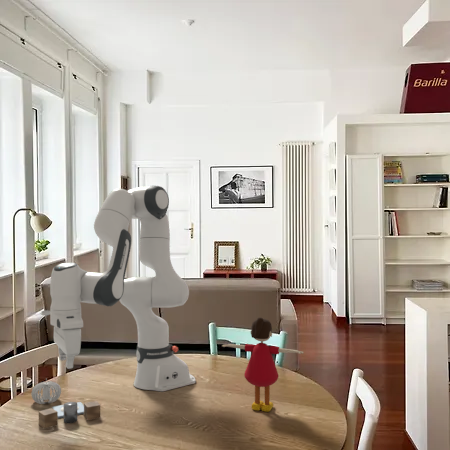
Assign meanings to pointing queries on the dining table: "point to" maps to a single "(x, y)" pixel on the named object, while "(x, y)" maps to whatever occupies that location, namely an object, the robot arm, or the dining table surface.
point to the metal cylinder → (70, 412)
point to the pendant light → (46, 386)
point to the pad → (61, 409)
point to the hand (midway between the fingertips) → (66, 363)
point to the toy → (261, 362)
